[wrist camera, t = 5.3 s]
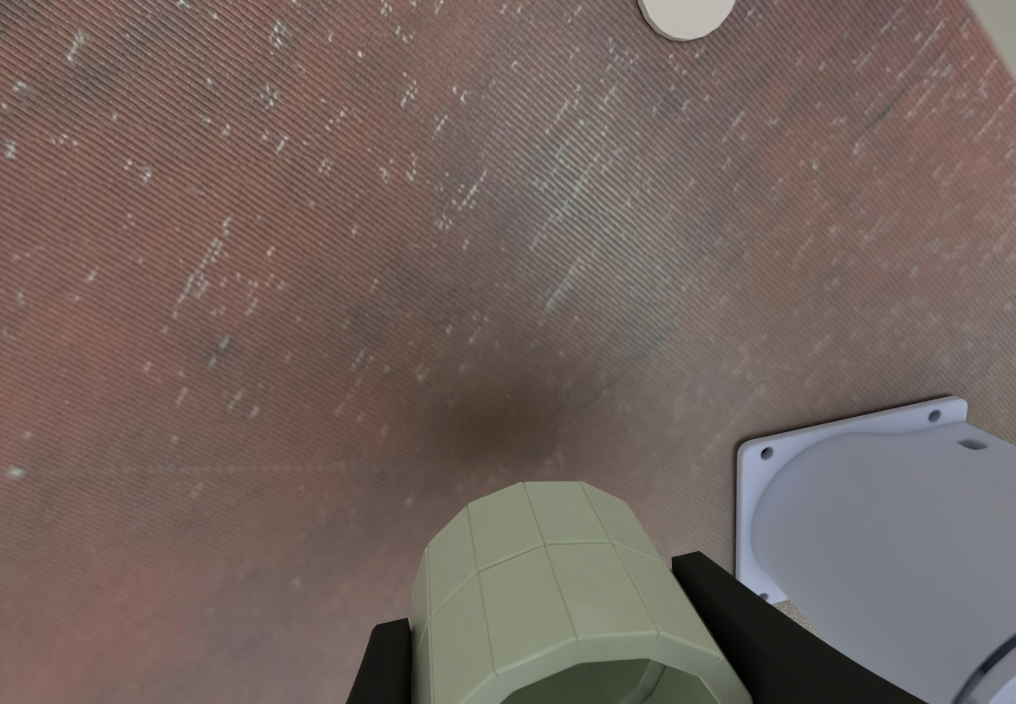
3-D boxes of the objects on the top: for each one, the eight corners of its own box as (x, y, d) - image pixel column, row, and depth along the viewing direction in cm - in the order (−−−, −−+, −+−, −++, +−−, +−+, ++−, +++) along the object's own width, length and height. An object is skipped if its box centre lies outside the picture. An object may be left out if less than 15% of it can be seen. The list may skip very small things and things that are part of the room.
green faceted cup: (638, 443, 12) (759, 594, 8) (648, 632, 14) (750, 836, 10) (390, 493, 11) (379, 685, 7) (436, 684, 13) (447, 924, 9)
